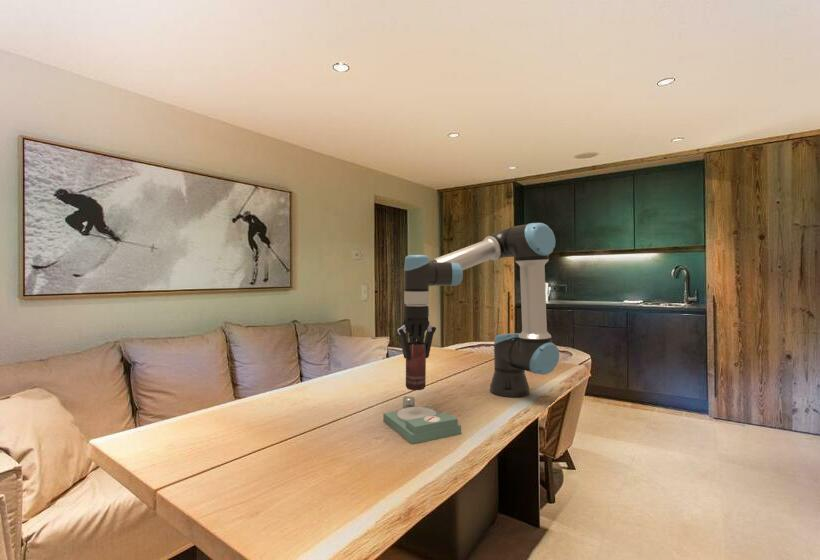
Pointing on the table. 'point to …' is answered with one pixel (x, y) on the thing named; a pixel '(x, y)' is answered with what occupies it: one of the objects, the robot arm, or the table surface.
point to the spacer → (408, 402)
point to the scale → (422, 424)
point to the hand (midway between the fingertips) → (416, 381)
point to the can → (416, 367)
